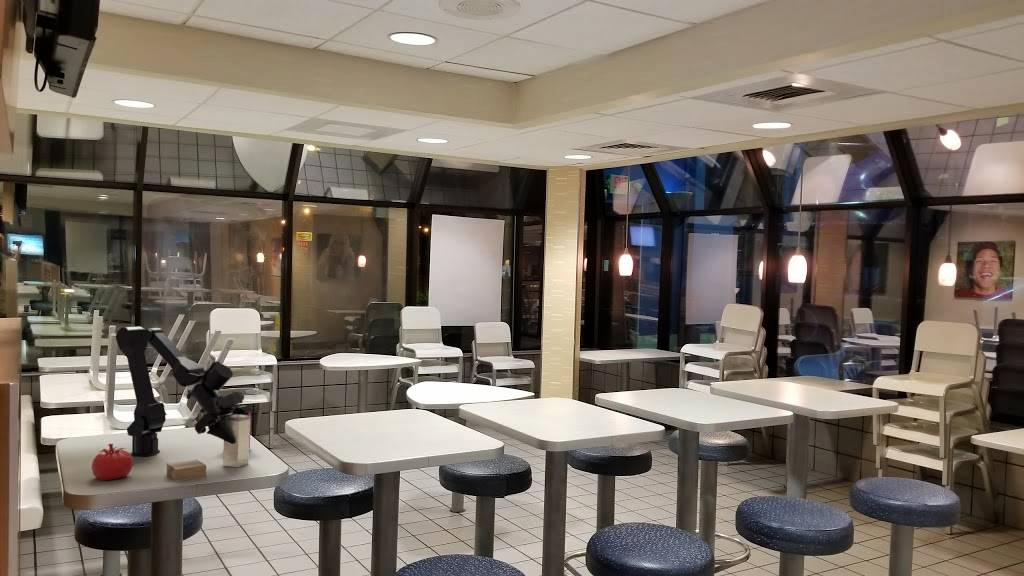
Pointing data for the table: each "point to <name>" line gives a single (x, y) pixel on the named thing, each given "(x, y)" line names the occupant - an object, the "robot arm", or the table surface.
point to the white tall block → (237, 441)
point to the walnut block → (186, 470)
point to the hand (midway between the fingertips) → (240, 441)
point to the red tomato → (112, 464)
